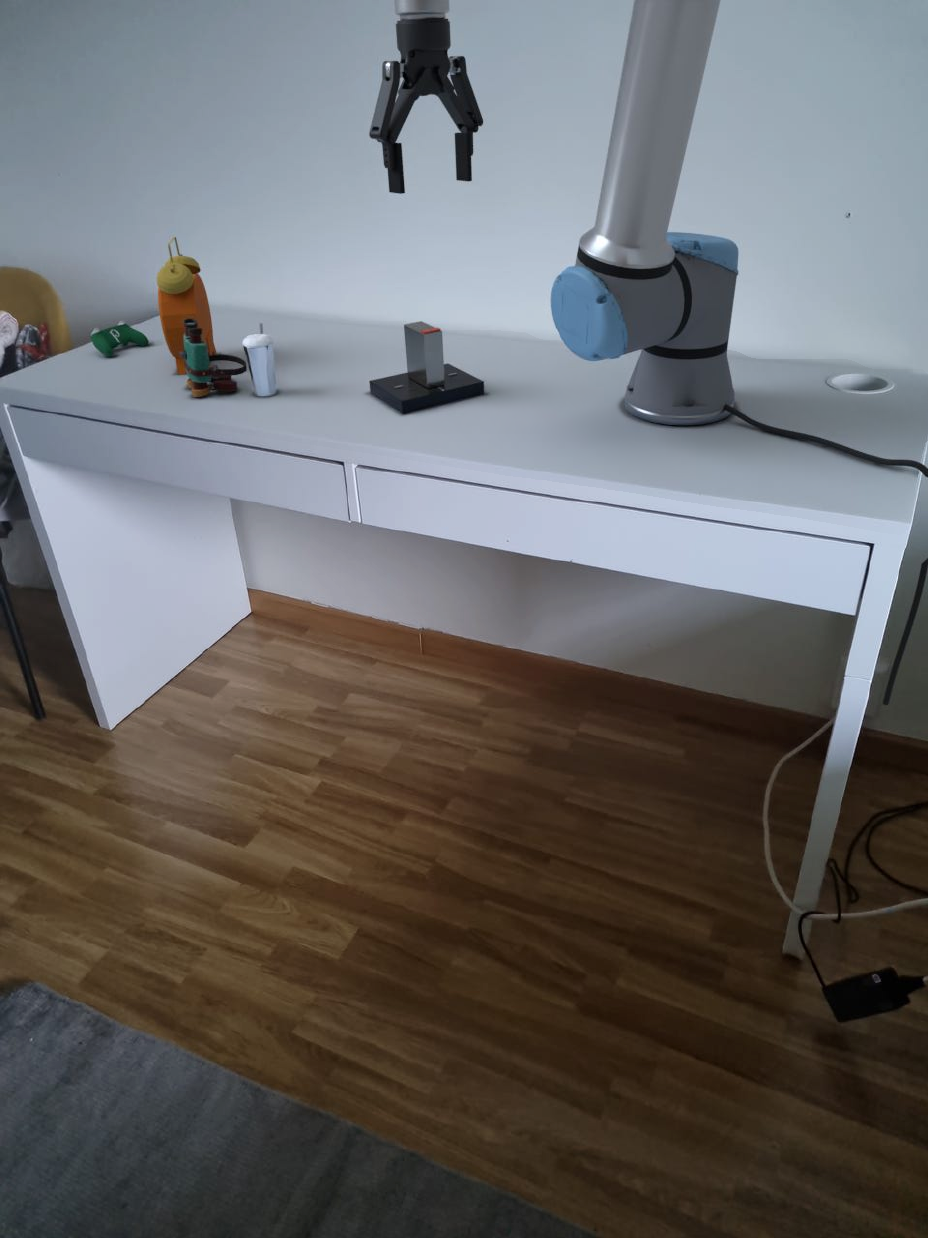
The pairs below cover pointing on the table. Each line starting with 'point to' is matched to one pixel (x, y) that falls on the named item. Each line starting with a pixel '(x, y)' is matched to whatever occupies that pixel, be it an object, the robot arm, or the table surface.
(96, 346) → the gaming controller
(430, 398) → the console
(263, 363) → the milkshake
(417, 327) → the red-capped silver block
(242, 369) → the binoculars
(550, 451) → the table surface
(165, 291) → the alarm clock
